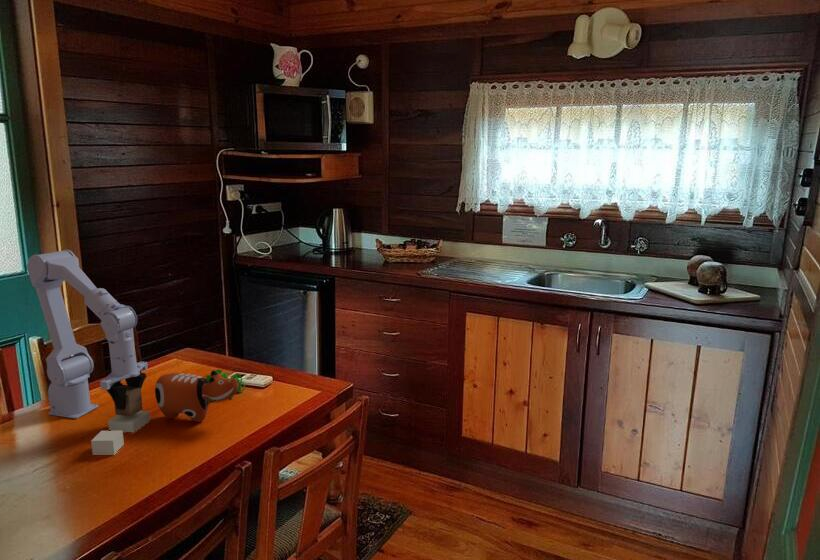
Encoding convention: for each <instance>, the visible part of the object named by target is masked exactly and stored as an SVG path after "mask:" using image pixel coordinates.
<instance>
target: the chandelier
mask: <svg viewBox="0 0 820 560" xmlns="http://www.w3.org/2000/svg"><path fill="white" fill-rule="evenodd" d="M214 371H216V372H217V373H218V374H219V375H220V376H221V377H224V378H229V376H228V375H227V372H225V371H224V372H223V370H222V369H216V370H214ZM210 375H211V373H210V374H207V375H206V376H205V379H206V380H207V381H208V382H209V380H210ZM230 378H235V379H236V380H237V381H238V384H239V388H238V391H237V392H236V393H243V392H244V390H245V387H246V384H245V382H244V381H243V378H242V376H241V375H239V374H233V375H231V376H230ZM242 385H243V388H242ZM242 389H243V390H242ZM233 397H234V395H233V396H232V397H230V398H228V399H229V400H231V399H233ZM209 400H210V401H211V402H215V400H213V399H211V398H209Z"/></svg>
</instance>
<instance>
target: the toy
mask: <svg viewBox="0 0 820 560" xmlns="http://www.w3.org/2000/svg"><path fill="white" fill-rule="evenodd" d="M155 383H156V384H155V386H154V392H155V393H154V394H155V400H156V404H157V406H158V408H159V410H160V412H161V413H162V415H164V416H165V418H167V419H176V418H178V416H179V415H180V414H183V415H186V416H187V417H188V418H189V419H191V421H192V422H195V423H200V422H203V421H204V420H205V419H206V416H207V413H208V409H209V405H210V404H209V403H210V400H211V399H213V400H214V401H217V402H222V401H223V402H224V401H226V400H228V399H229V398H231V397H232V396H233V397H234V396H235V394H236V393H238V392H237V391H238V388H239V384H238V381H237V380H236V379H235V378H231V377H230V378H229V377H228V378H224V377H221V374H218V373H217V372H216V371H215V370H214V369H212V370H211V371H210V380H209V382H208V381H207V380H206V377H203V376H200V375H196V374H192V373H181V372H171V373H165V374H162V375H161V376H160V377H158V379H157V381H156V382H155ZM233 397H232V398H233ZM210 398H211V399H210Z"/></svg>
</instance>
